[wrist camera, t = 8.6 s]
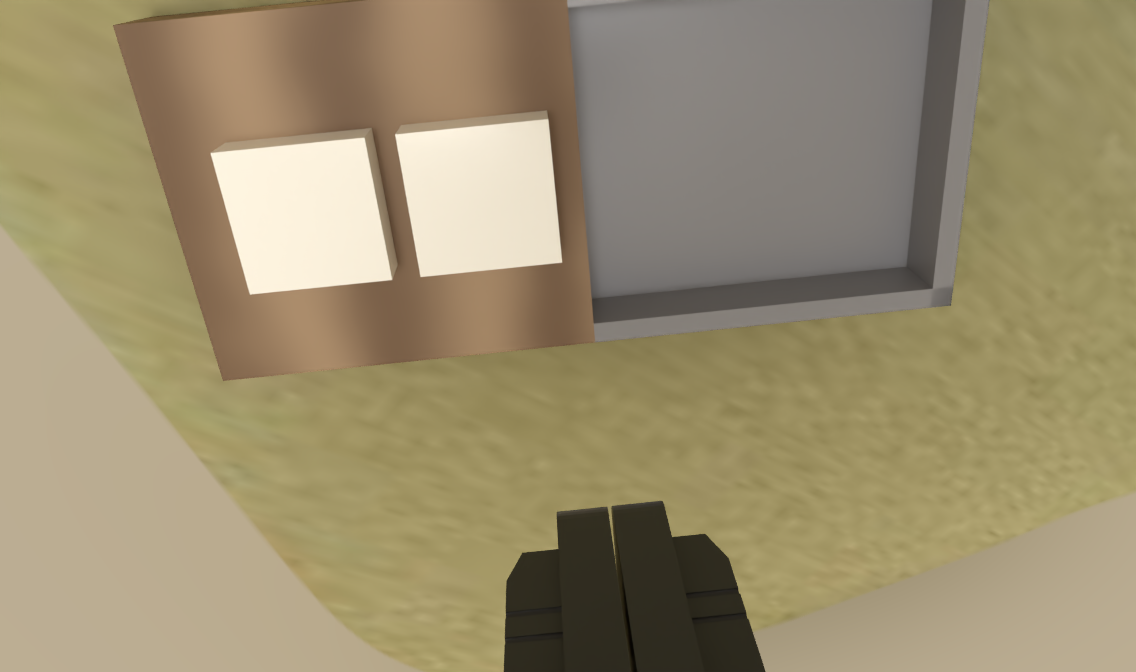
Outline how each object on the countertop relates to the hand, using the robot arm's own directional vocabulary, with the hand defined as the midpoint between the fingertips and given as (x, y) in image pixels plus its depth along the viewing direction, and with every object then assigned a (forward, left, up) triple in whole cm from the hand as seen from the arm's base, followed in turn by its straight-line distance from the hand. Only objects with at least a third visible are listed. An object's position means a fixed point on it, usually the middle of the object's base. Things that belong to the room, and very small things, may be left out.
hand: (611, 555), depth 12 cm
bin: (-8, 0, -23) cm, 24 cm away
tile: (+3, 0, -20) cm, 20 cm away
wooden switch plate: (+6, 0, -23) cm, 23 cm away
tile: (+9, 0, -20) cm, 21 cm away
